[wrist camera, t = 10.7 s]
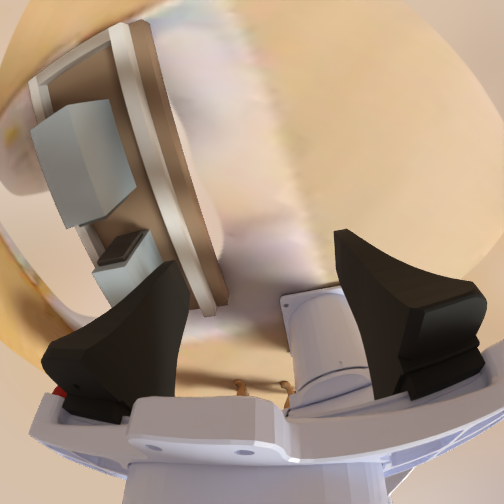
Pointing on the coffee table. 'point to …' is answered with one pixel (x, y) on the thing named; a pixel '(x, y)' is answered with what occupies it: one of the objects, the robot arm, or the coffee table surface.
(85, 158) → the gripped grey block
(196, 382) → the coffee table surface
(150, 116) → the raised edge track
